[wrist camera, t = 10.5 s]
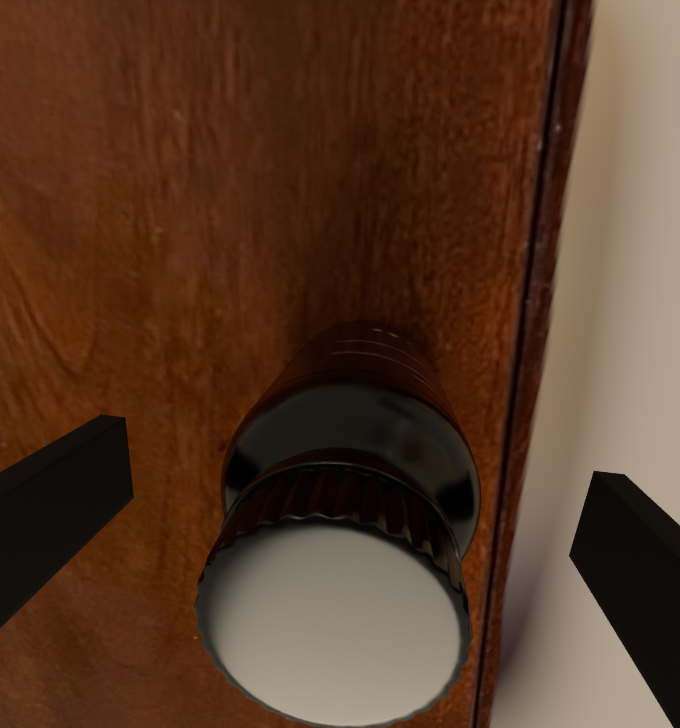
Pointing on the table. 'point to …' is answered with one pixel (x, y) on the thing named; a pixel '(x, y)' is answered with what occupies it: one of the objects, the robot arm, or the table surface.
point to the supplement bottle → (344, 537)
